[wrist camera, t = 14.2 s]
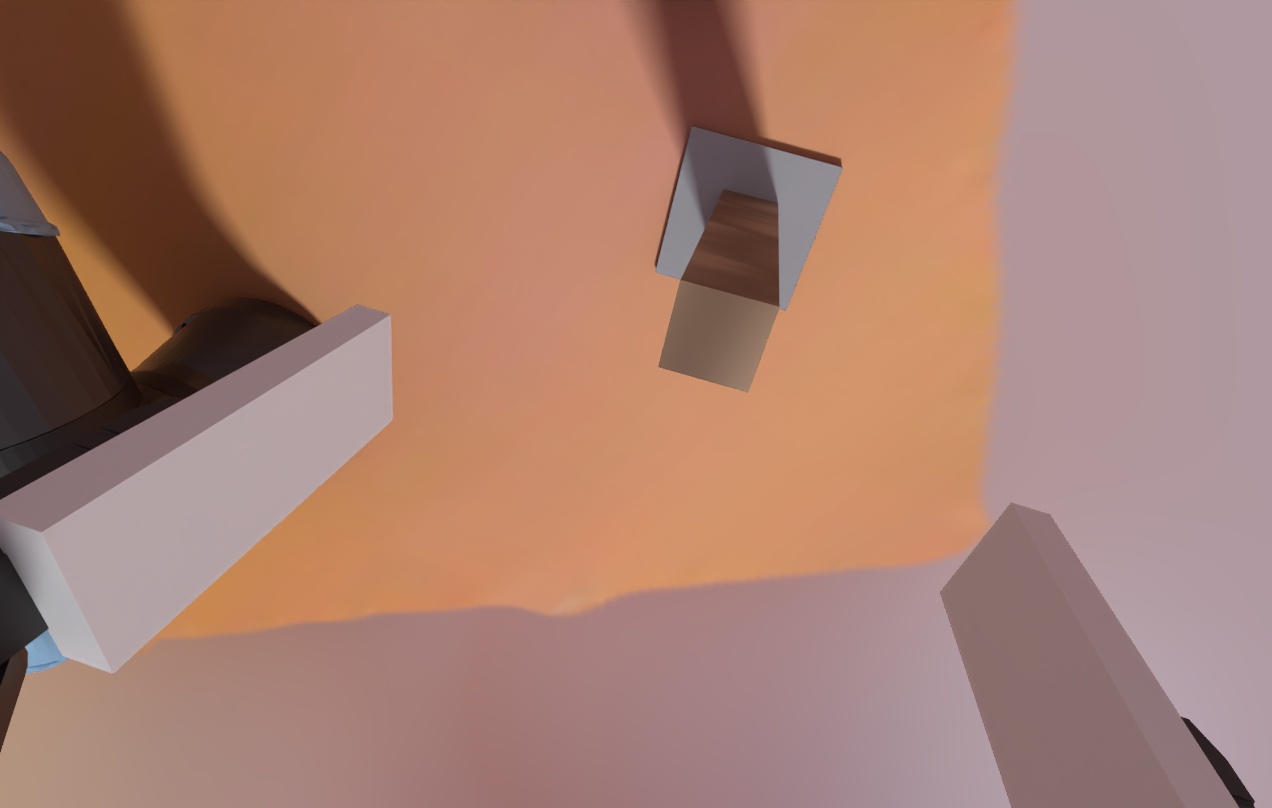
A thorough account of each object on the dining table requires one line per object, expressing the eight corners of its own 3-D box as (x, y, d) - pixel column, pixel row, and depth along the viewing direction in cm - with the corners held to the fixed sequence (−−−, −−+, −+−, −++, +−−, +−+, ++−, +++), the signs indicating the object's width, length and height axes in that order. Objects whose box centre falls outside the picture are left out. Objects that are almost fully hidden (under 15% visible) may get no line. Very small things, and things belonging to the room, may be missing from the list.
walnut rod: (708, 243, 32) (658, 366, 18) (723, 189, 30) (680, 279, 16) (760, 257, 31) (748, 392, 18) (778, 202, 30) (779, 306, 16)
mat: (656, 270, 33) (655, 272, 33) (692, 125, 29) (691, 126, 29) (785, 308, 33) (785, 310, 32) (842, 166, 29) (842, 167, 28)
